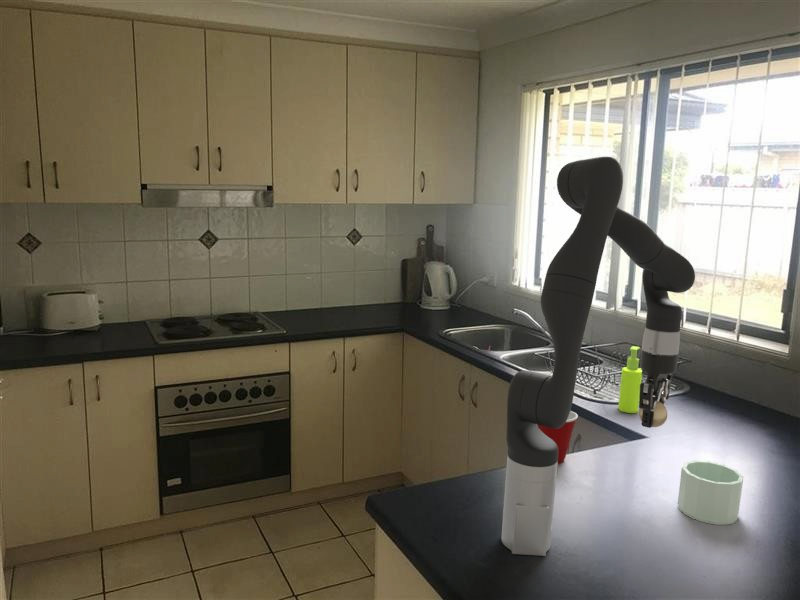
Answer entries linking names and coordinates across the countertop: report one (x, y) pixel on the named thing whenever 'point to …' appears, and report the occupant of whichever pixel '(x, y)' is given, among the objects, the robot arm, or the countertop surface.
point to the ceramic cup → (710, 492)
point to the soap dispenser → (630, 384)
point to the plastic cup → (561, 435)
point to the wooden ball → (657, 414)
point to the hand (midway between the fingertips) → (651, 422)
